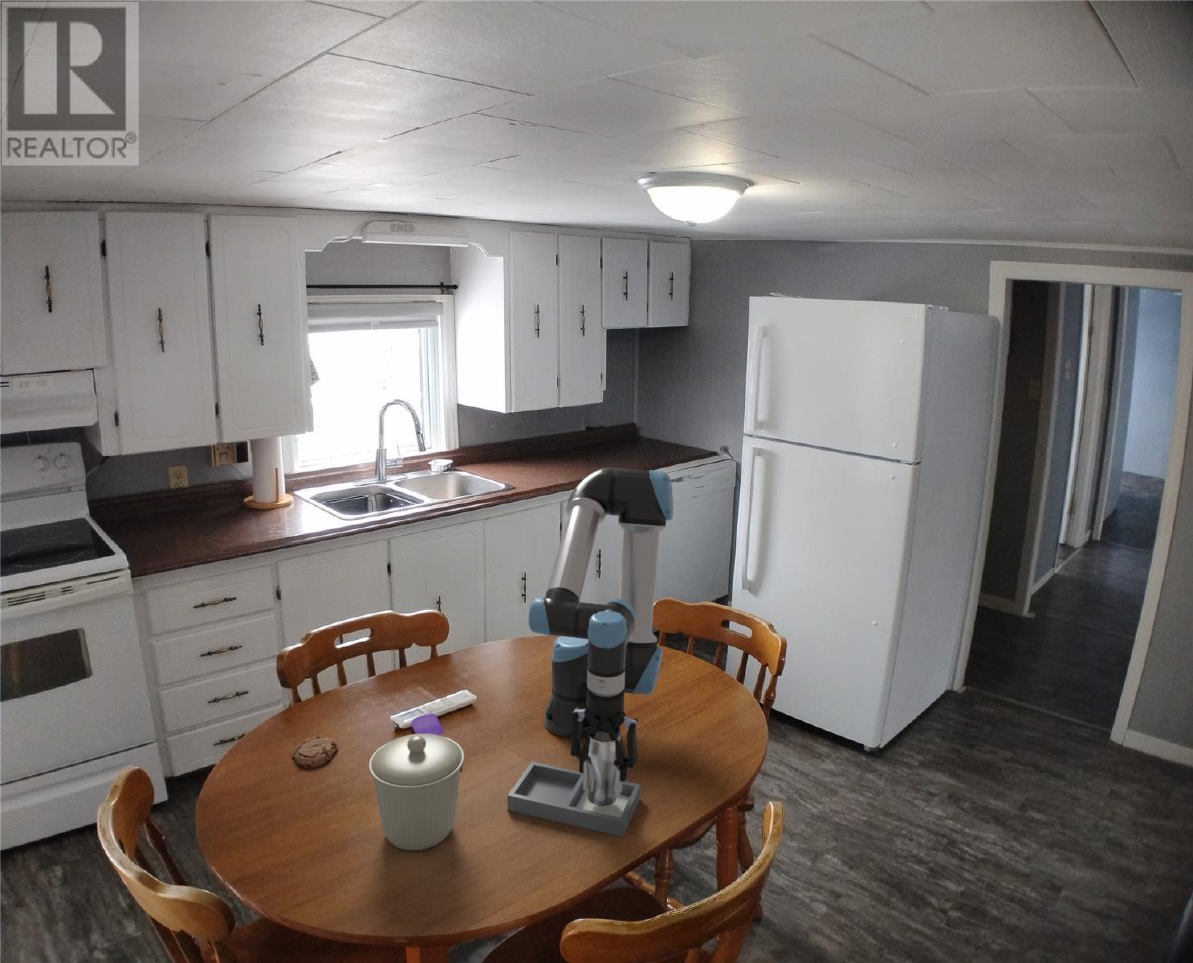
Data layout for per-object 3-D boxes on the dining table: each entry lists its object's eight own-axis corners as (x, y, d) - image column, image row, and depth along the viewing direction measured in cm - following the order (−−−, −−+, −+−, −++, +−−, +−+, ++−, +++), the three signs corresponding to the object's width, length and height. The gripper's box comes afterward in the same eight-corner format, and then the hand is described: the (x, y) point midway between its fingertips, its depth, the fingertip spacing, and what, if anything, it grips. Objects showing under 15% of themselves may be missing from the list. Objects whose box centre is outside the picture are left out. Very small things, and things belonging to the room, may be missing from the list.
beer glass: (595, 812, 163) (597, 746, 159) (579, 793, 169) (581, 728, 165) (625, 803, 166) (627, 737, 162) (609, 784, 172) (611, 721, 168)
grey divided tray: (507, 809, 167) (507, 795, 167) (531, 775, 179) (531, 761, 179) (623, 837, 160) (623, 821, 159) (640, 799, 172) (640, 784, 171)
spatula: (472, 769, 182) (472, 759, 181) (443, 778, 178) (443, 768, 178) (434, 720, 202) (434, 711, 201) (408, 727, 198) (408, 718, 198)
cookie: (295, 773, 178) (294, 761, 178) (290, 748, 188) (290, 737, 187) (342, 762, 183) (341, 751, 182) (335, 739, 192) (334, 728, 191)
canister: (416, 794, 172) (413, 704, 167) (483, 823, 163) (483, 730, 158) (352, 842, 157) (346, 745, 152) (422, 877, 148) (419, 775, 143)
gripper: (554, 688, 161) (552, 790, 166) (647, 705, 155) (642, 810, 161) (567, 672, 168) (565, 770, 173) (656, 688, 162) (651, 789, 168)
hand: (602, 789), depth 167 cm, fingers closed on beer glass, 6 cm apart
